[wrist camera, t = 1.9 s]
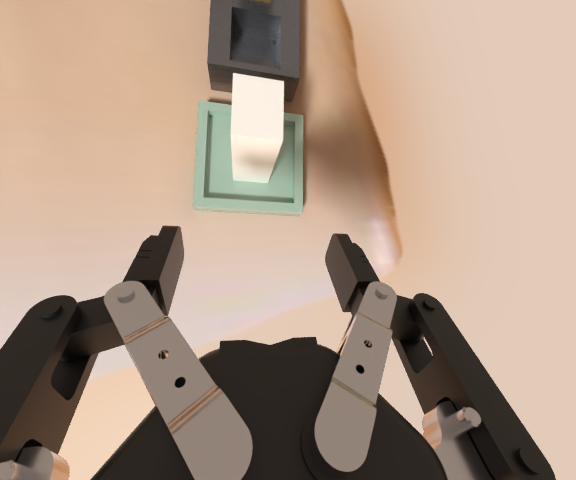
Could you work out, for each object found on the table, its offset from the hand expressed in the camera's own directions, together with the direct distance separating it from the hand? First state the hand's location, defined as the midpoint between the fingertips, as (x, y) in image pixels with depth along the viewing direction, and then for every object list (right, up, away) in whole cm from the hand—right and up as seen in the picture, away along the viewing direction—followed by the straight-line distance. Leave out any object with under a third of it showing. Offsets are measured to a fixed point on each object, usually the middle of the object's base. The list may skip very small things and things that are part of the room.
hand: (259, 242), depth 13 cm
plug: (-3, +9, +16) cm, 18 cm away
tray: (-3, +9, +16) cm, 19 cm away
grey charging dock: (-3, +27, +19) cm, 33 cm away
